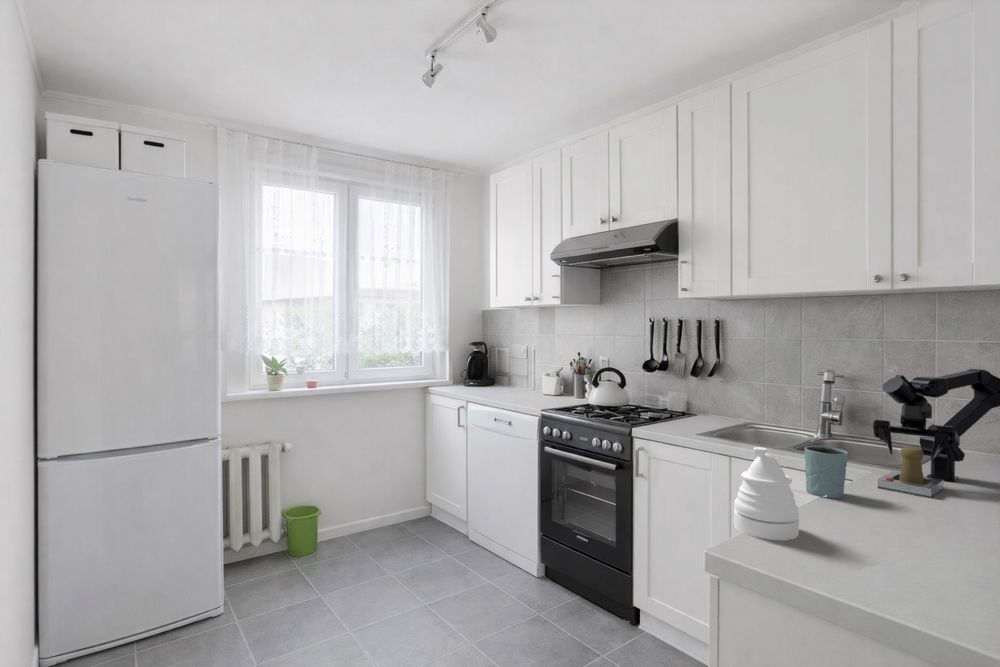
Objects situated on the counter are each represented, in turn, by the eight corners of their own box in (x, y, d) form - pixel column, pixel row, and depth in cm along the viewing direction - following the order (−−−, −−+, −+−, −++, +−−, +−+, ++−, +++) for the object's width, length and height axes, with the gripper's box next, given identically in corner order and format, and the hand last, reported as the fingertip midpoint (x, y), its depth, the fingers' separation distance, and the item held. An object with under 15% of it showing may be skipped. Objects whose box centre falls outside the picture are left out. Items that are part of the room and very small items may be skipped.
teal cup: (804, 486, 153) (804, 444, 153) (846, 492, 148) (847, 448, 148) (803, 495, 144) (804, 450, 144) (848, 501, 139) (849, 455, 139)
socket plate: (892, 479, 161) (892, 469, 161) (943, 488, 152) (943, 477, 152) (877, 487, 152) (877, 476, 152) (930, 498, 143) (930, 486, 143)
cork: (930, 490, 148) (930, 450, 148) (905, 488, 149) (905, 449, 149) (917, 484, 154) (917, 445, 154) (893, 483, 155) (894, 444, 155)
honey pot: (769, 544, 110) (770, 456, 110) (721, 523, 122) (721, 444, 122) (812, 535, 116) (813, 451, 116) (762, 516, 127) (762, 440, 127)
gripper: (874, 392, 161) (868, 434, 153) (955, 397, 149) (954, 443, 141) (877, 415, 167) (872, 457, 159) (955, 422, 155) (954, 468, 147)
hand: (911, 456), depth 151 cm, fingers open, 9 cm apart
